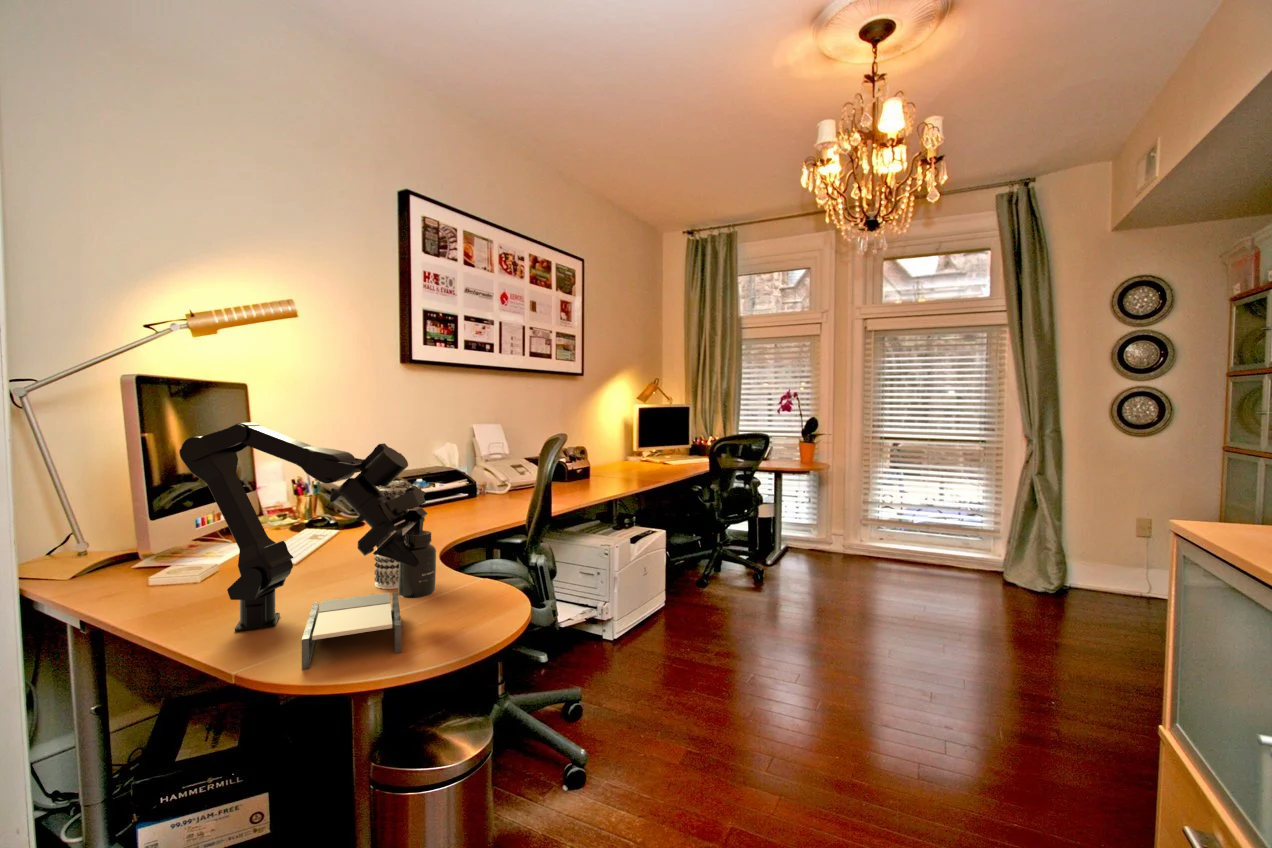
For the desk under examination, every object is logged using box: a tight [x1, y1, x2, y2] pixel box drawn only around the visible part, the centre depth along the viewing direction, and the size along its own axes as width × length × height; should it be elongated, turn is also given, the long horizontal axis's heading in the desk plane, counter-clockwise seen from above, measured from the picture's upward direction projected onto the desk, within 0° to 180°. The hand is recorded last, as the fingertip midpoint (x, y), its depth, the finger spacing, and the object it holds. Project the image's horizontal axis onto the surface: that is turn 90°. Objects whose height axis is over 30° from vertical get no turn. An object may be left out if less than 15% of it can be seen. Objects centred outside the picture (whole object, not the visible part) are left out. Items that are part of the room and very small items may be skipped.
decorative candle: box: [373, 480, 413, 590], centre depth 131 cm, size 9×9×25 cm
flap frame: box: [301, 592, 402, 670], centre depth 99 cm, size 18×15×5 cm
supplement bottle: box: [397, 530, 437, 599], centre depth 105 cm, size 7×7×12 cm
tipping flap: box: [312, 592, 393, 641], centre depth 99 cm, size 17×12×3 cm
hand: (424, 560), depth 105 cm, fingers closed on supplement bottle, 7 cm apart
